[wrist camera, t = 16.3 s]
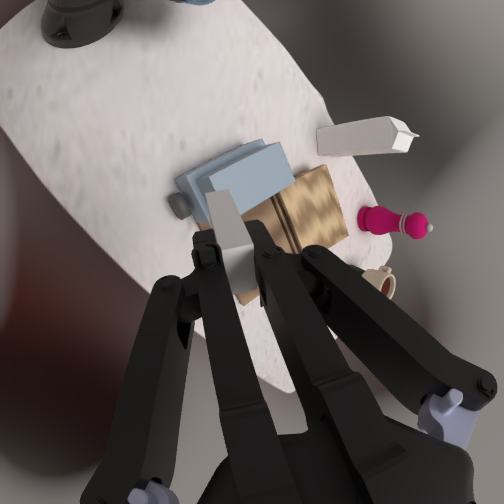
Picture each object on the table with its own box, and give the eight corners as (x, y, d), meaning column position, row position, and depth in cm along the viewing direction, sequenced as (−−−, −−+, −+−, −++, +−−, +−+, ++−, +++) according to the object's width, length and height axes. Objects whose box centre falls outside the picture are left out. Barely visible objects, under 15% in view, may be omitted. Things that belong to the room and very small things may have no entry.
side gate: (278, 187, 49) (326, 164, 50) (274, 187, 50) (321, 164, 52) (306, 261, 55) (348, 235, 56) (303, 258, 57) (344, 233, 58)
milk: (336, 157, 59) (421, 153, 40) (317, 155, 56) (407, 148, 37) (334, 131, 57) (418, 121, 39) (315, 128, 55) (404, 113, 36)
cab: (160, 186, 41) (180, 182, 31) (253, 139, 48) (293, 127, 38) (183, 229, 44) (209, 239, 35) (270, 178, 51) (312, 175, 41)
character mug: (340, 300, 68) (381, 317, 57) (328, 286, 64) (371, 302, 53) (361, 267, 70) (402, 278, 59) (351, 250, 67) (394, 260, 56)
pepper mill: (359, 237, 68) (428, 250, 51) (353, 212, 65) (425, 220, 48) (374, 224, 70) (439, 234, 53) (368, 200, 67) (436, 206, 50)
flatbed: (196, 221, 45) (199, 222, 44) (263, 181, 50) (269, 181, 49) (240, 304, 53) (245, 307, 51) (296, 261, 58) (302, 262, 56)
